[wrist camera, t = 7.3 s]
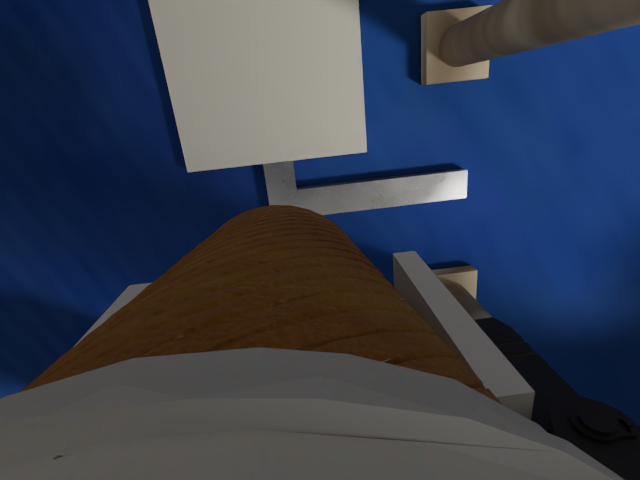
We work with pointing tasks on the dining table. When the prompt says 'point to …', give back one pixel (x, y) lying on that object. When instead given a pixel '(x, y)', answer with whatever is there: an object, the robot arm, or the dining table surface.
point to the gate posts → (497, 41)
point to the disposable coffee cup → (272, 379)
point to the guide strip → (363, 190)
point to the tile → (262, 79)
